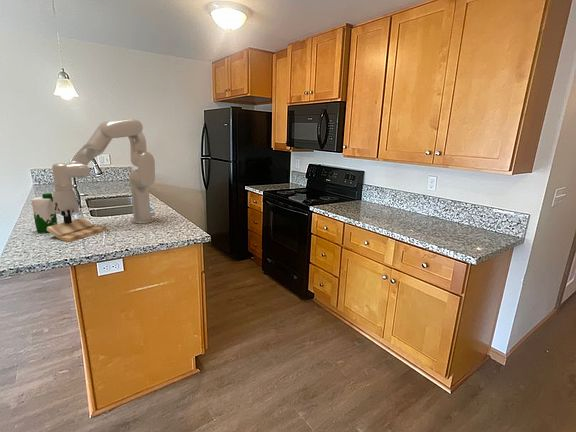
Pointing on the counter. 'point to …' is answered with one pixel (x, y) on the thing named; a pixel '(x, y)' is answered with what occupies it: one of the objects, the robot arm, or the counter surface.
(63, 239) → the laid floor row
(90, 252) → the counter surface
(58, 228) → the tan wooden board
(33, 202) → the milk carton
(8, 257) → the counter surface
